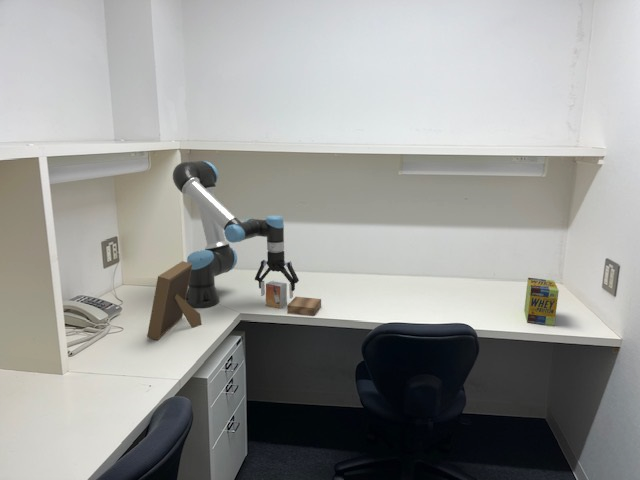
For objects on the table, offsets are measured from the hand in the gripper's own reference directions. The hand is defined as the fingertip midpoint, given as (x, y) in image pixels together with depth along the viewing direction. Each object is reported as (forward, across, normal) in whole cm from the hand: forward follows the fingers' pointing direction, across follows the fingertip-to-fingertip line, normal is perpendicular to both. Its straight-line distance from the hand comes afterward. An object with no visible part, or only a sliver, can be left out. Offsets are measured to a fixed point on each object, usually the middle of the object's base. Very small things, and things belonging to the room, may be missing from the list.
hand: (277, 296), depth 205 cm
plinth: (+5, +14, -2) cm, 14 cm away
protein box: (+6, +112, +16) cm, 114 cm away
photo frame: (+4, -28, -36) cm, 46 cm away
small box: (+4, 0, 0) cm, 5 cm away
